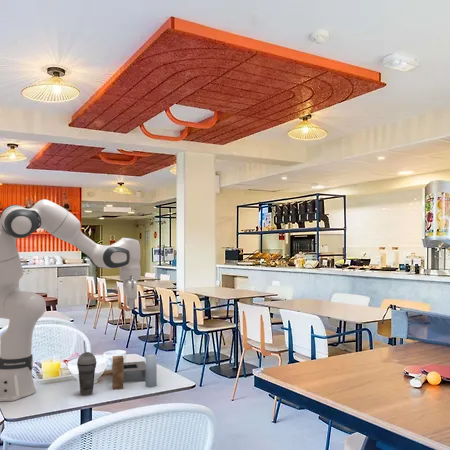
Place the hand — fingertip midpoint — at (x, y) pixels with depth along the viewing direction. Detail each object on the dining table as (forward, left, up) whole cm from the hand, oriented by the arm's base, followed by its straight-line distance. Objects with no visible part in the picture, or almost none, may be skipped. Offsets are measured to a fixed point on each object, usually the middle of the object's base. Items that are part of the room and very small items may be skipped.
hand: (130, 307), depth 206 cm
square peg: (-6, -13, -30) cm, 33 cm away
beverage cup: (-18, -17, -30) cm, 39 cm away
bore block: (0, 0, -30) cm, 30 cm away
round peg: (+7, -14, -30) cm, 33 cm away
